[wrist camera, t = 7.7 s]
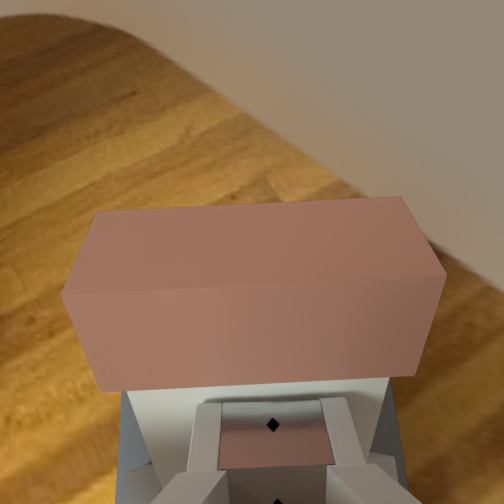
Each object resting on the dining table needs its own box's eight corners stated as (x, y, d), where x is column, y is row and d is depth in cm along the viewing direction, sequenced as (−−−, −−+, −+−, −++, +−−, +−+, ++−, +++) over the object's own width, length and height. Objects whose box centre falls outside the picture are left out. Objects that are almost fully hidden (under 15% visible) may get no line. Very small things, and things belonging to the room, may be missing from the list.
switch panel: (139, 771, 16) (50, 1035, 9) (154, 297, 23) (109, 241, 16) (410, 755, 16) (526, 1002, 9) (346, 288, 23) (386, 227, 16)
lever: (174, 566, 13) (59, 294, 6) (180, 491, 15) (96, 211, 8) (356, 555, 13) (447, 275, 6) (342, 482, 15) (401, 196, 8)
